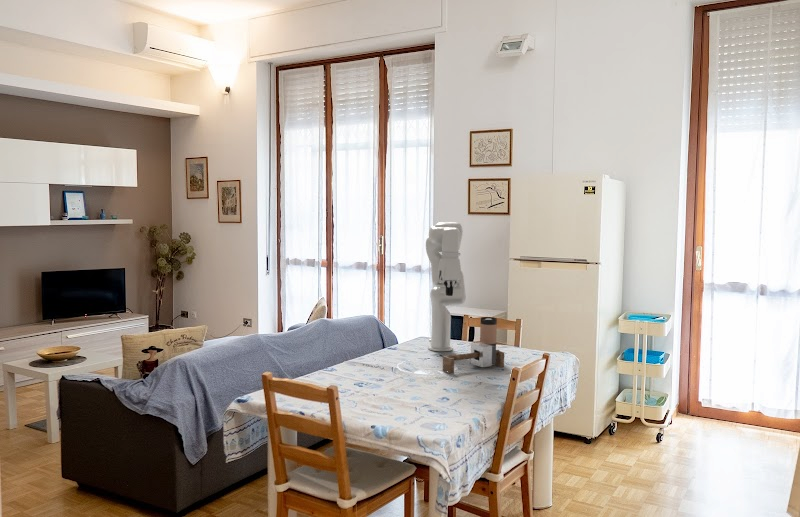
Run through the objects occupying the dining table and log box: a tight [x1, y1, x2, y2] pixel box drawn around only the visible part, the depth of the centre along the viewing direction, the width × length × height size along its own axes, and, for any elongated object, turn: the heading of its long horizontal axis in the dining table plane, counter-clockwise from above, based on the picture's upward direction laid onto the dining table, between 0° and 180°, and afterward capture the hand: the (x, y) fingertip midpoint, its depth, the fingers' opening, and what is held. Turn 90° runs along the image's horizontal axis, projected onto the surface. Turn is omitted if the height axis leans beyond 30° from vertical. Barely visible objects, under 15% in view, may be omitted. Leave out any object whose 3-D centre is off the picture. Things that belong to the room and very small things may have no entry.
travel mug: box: [479, 316, 498, 347], centre depth 314 cm, size 8×8×20 cm
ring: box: [484, 343, 497, 366], centre depth 303 cm, size 2×8×8 cm, turn 29°
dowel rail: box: [442, 349, 505, 374], centre depth 299 cm, size 29×6×7 cm, turn 119°
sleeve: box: [470, 341, 492, 368], centre depth 301 cm, size 5×9×9 cm, turn 29°
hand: (449, 295), depth 308 cm, fingers closed
